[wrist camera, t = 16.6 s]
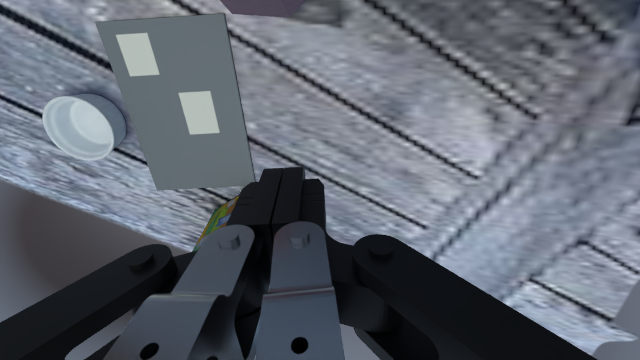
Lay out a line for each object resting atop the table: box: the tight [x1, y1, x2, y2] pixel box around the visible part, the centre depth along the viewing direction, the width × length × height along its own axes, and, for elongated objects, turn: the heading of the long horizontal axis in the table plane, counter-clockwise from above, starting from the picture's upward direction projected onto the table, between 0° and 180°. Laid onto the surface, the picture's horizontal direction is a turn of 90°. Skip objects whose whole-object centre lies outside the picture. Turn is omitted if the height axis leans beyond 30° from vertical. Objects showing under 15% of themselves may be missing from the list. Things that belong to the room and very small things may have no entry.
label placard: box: [95, 14, 256, 190], centre depth 42 cm, size 24×16×1 cm, turn 3°
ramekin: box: [43, 94, 126, 161], centre depth 41 cm, size 9×9×4 cm
